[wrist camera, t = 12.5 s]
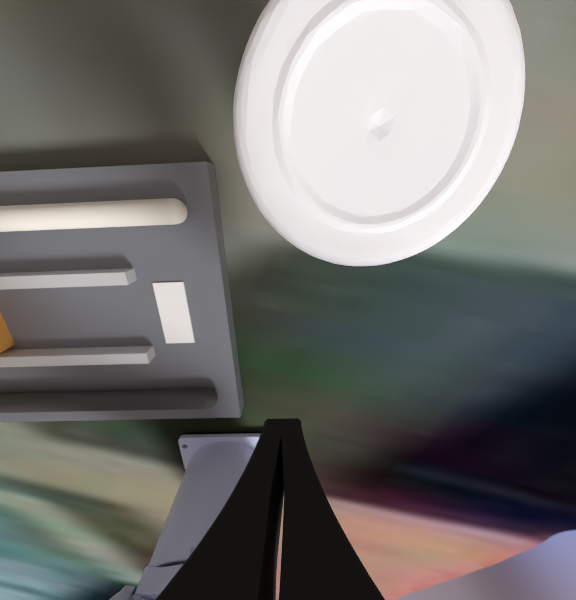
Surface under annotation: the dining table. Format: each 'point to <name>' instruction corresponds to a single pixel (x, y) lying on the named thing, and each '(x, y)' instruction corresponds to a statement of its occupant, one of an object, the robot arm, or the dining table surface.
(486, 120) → the sprinkles bottle
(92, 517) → the dining table surface
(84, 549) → the dining table surface
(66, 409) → the dark grey rounded rod
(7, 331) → the block
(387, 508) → the dining table surface
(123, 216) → the white rounded rod
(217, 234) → the panel
